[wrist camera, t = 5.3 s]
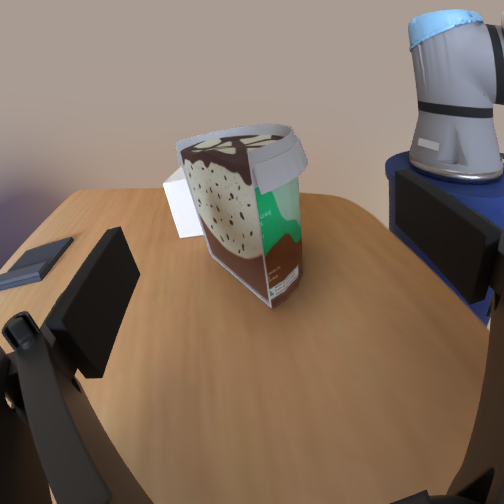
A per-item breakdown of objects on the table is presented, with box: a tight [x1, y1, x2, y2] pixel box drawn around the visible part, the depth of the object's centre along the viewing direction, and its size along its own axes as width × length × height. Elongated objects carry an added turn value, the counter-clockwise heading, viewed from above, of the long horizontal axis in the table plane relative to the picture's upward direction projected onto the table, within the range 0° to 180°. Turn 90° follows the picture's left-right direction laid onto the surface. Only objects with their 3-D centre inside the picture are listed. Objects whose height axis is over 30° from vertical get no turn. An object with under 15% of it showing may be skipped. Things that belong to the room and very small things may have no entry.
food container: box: [175, 124, 307, 308], centre depth 22 cm, size 12×6×10 cm, turn 32°
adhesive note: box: [163, 166, 204, 238], centre depth 32 cm, size 6×6×6 cm
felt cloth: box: [0, 237, 73, 290], centre depth 34 cm, size 10×10×1 cm
